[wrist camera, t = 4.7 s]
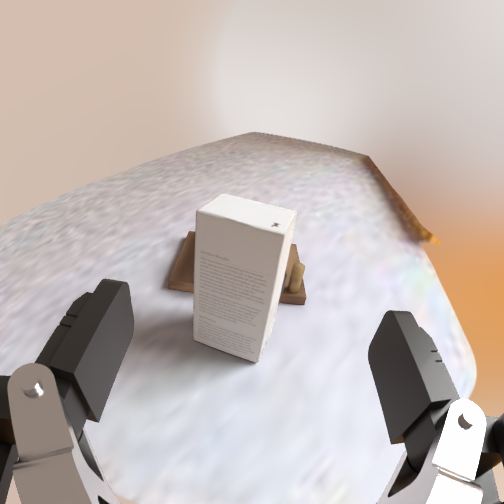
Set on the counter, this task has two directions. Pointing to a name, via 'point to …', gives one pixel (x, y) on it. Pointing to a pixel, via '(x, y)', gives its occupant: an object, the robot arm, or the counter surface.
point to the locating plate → (290, 288)
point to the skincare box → (239, 273)
